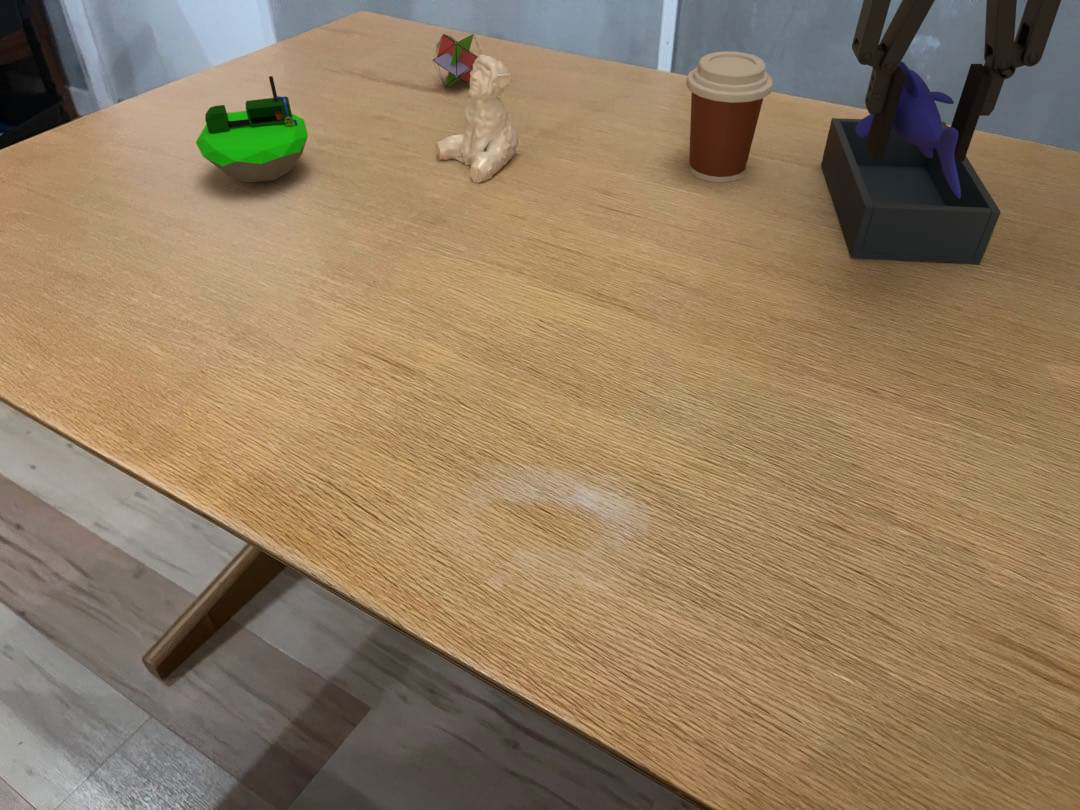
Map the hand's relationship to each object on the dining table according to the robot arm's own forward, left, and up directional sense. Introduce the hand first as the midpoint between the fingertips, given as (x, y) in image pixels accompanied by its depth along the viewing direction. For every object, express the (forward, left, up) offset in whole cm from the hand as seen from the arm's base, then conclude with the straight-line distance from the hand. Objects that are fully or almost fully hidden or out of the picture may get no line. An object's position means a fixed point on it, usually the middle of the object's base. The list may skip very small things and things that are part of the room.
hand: (914, 152), depth 65 cm
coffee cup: (+12, -25, -14) cm, 31 cm away
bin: (-6, -17, -14) cm, 23 cm away
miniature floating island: (+64, -19, -14) cm, 69 cm away
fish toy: (0, 0, 0) cm, 1 cm away
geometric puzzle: (+46, -48, -14) cm, 68 cm away
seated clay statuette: (+39, -25, -14) cm, 49 cm away
